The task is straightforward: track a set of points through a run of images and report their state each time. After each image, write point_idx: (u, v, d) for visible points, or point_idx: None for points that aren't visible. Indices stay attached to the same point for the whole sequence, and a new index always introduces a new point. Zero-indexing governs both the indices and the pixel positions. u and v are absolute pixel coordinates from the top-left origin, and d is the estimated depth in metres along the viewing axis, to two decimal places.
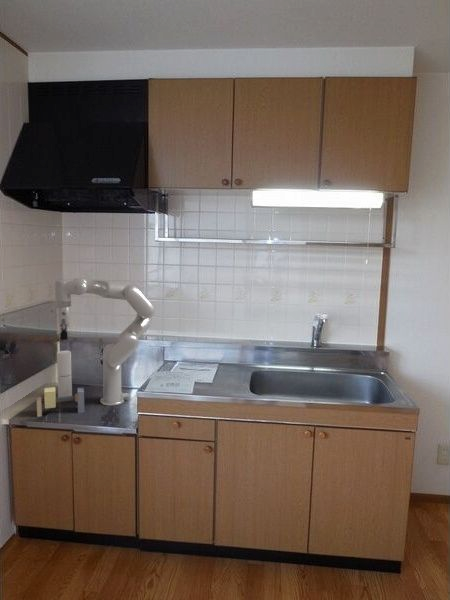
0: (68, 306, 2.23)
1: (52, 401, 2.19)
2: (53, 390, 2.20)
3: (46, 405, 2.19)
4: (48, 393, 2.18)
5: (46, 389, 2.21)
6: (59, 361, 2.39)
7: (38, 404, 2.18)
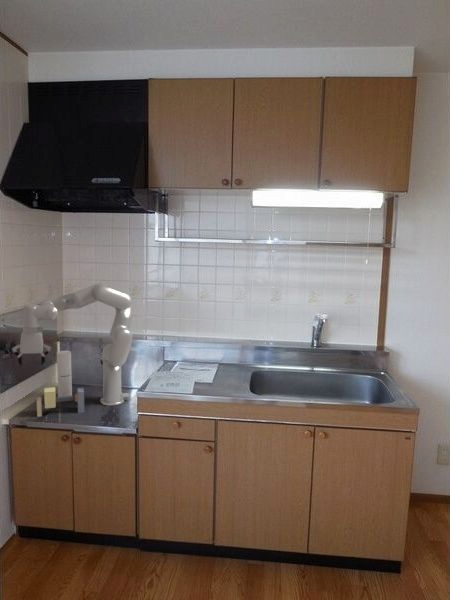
0: None
1: (52, 401, 2.19)
2: (53, 390, 2.20)
3: (46, 405, 2.19)
4: (48, 393, 2.18)
5: (46, 389, 2.21)
6: (59, 361, 2.39)
7: (38, 404, 2.18)
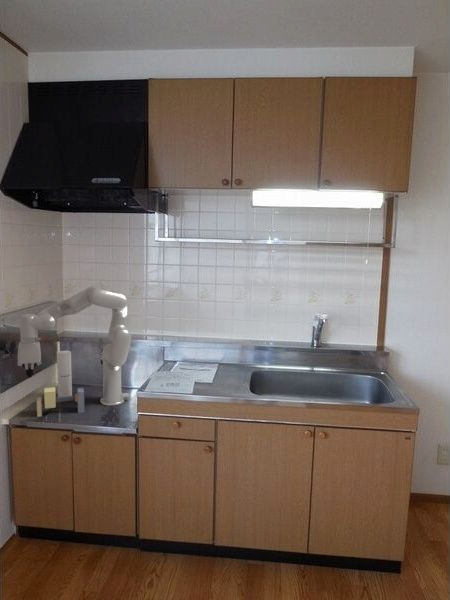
0: None
1: (52, 401, 2.19)
2: (53, 390, 2.20)
3: (46, 405, 2.19)
4: (48, 393, 2.18)
5: (46, 389, 2.21)
6: (59, 361, 2.39)
7: (38, 404, 2.18)
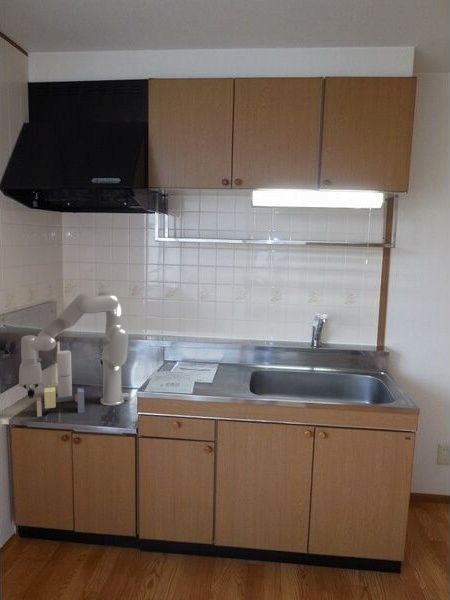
0: None
1: (52, 401, 2.19)
2: (53, 390, 2.20)
3: (46, 405, 2.19)
4: (48, 393, 2.18)
5: (46, 389, 2.21)
6: (59, 361, 2.39)
7: (38, 404, 2.18)
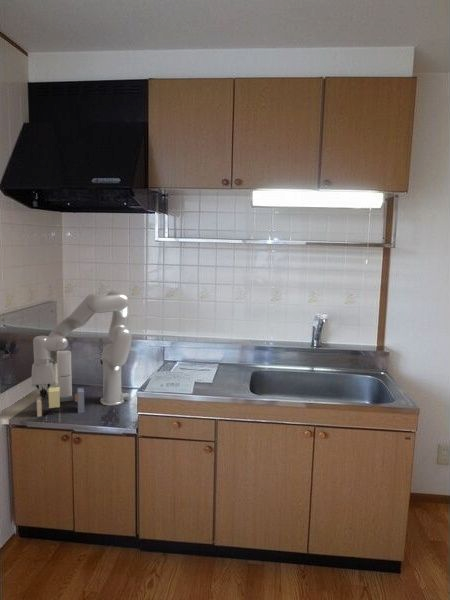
0: None
1: (56, 401, 2.20)
2: (57, 390, 2.21)
3: (50, 405, 2.19)
4: (53, 393, 2.19)
5: (50, 389, 2.22)
6: (59, 361, 2.39)
7: (38, 404, 2.18)
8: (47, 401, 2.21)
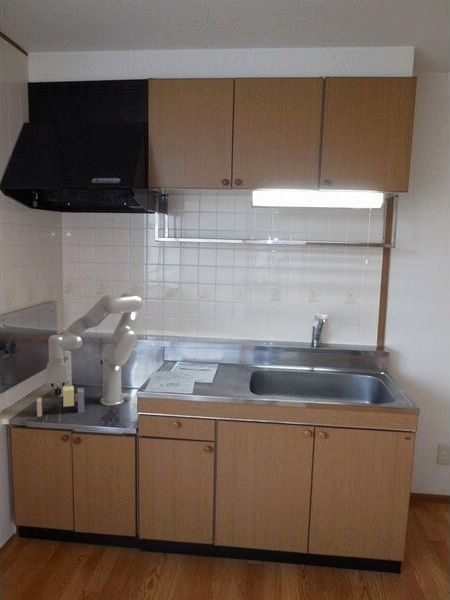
0: None
1: (71, 399, 2.22)
2: (72, 388, 2.23)
3: (65, 403, 2.22)
4: (67, 391, 2.21)
5: (65, 387, 2.24)
6: None
7: (38, 404, 2.18)
8: (47, 401, 2.21)
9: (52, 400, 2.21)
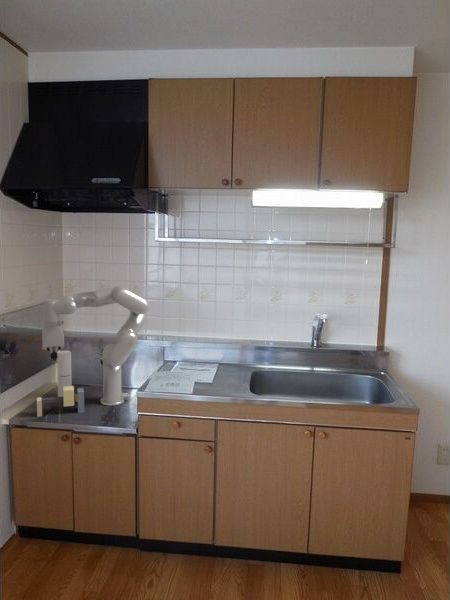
0: None
1: (71, 399, 2.22)
2: (72, 388, 2.23)
3: (65, 403, 2.22)
4: (67, 391, 2.21)
5: (65, 387, 2.24)
6: (59, 361, 2.39)
7: (38, 404, 2.18)
8: (47, 401, 2.21)
9: (52, 400, 2.21)
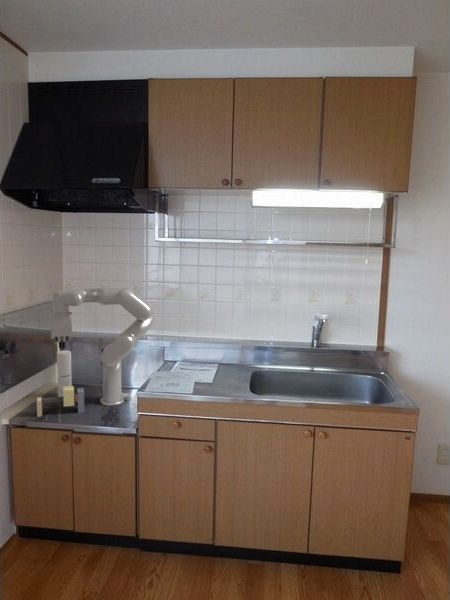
0: None
1: (71, 399, 2.22)
2: (72, 388, 2.23)
3: (65, 403, 2.22)
4: (67, 391, 2.21)
5: (65, 387, 2.24)
6: (59, 361, 2.39)
7: (38, 404, 2.18)
8: (47, 401, 2.21)
9: (52, 400, 2.21)
